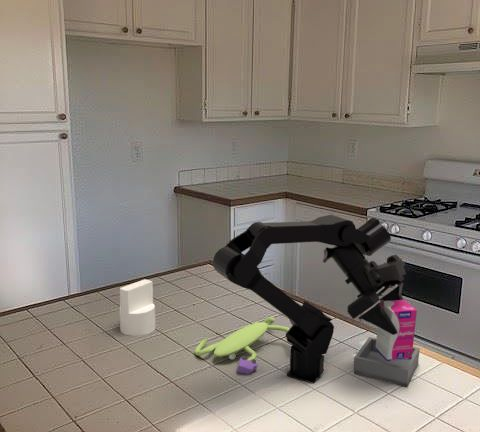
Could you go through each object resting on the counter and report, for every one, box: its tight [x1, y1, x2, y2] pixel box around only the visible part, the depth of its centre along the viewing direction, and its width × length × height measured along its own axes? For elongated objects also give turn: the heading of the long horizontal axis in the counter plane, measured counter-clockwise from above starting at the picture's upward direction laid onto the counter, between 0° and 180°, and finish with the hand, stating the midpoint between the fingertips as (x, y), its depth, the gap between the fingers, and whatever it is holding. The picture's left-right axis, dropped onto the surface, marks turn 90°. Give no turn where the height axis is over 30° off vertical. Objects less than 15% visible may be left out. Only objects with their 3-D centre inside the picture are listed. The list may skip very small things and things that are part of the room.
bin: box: [352, 336, 421, 388], centre depth 121 cm, size 12×12×4 cm
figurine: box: [194, 316, 292, 375], centre depth 129 cm, size 18×27×6 cm
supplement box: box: [376, 299, 418, 361], centre depth 115 cm, size 6×6×12 cm
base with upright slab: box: [119, 278, 156, 337], centre depth 140 cm, size 9×9×12 cm
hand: (402, 326), depth 114 cm, fingers closed on supplement box, 8 cm apart
